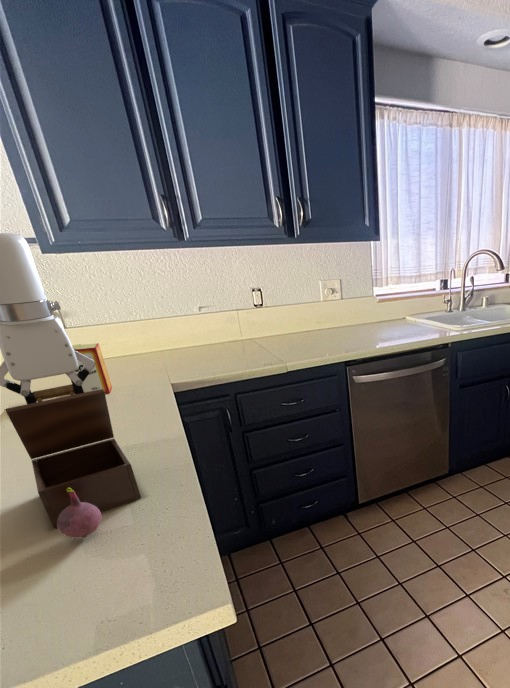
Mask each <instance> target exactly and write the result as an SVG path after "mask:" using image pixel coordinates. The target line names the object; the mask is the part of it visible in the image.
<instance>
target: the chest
mask: <svg viewBox="0 0 510 688" xmlns="http://www.w3.org/2000/svg"><path fill="white" fill-rule="evenodd" d="M31 464H32V469H33V473H34V474H33V475H34V479H35V484H36V489H37V493H38V496H39V498H40V500H41V502H42V505H43V507H44V509H45V512H46V514H47V516H48V518H49V521H50V523H51V526H52V528H53V529H55V528H58V527H57V519H58V517H59V515H60V513H61V512H62V511H63V510H64V509H65V508H67V507H68V506H70V504H71V499H70V496H69V492H67V490H66V489H67V488H71V489H72V490H74V492H75V494H76V495H77V497H78V499H79V501H80V502H85V503H90V504H92V505H94V506H96V507H97V508H98V509H99V510H100V512H101V513H102V512H104V511H108V510H110V509H113V508H116V507H119V506H122V505H125V504H128V503H130V502H134V501H136V500H139V499H141V498H142V496H141V492H140V489H139V486H138V483H137V480H136V479H137V478H136V476H135V473H134V470H133V466H132V464H131V462H130V460H129V459H128V457H127V456H126V454H125V453H124V451H123V450H122V448H121V446H120V445H119V444H118V441H117V440H116V439H115V438H110V439H106V440H103V441H99V442H95V443H91V444H88V445H84V446H80V447H76V448H72V449H69V450H65V451H61V452H57V453H54V454H50V455H46V456H42V457H38V458H35V459H31ZM68 490H69V489H68Z"/></svg>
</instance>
